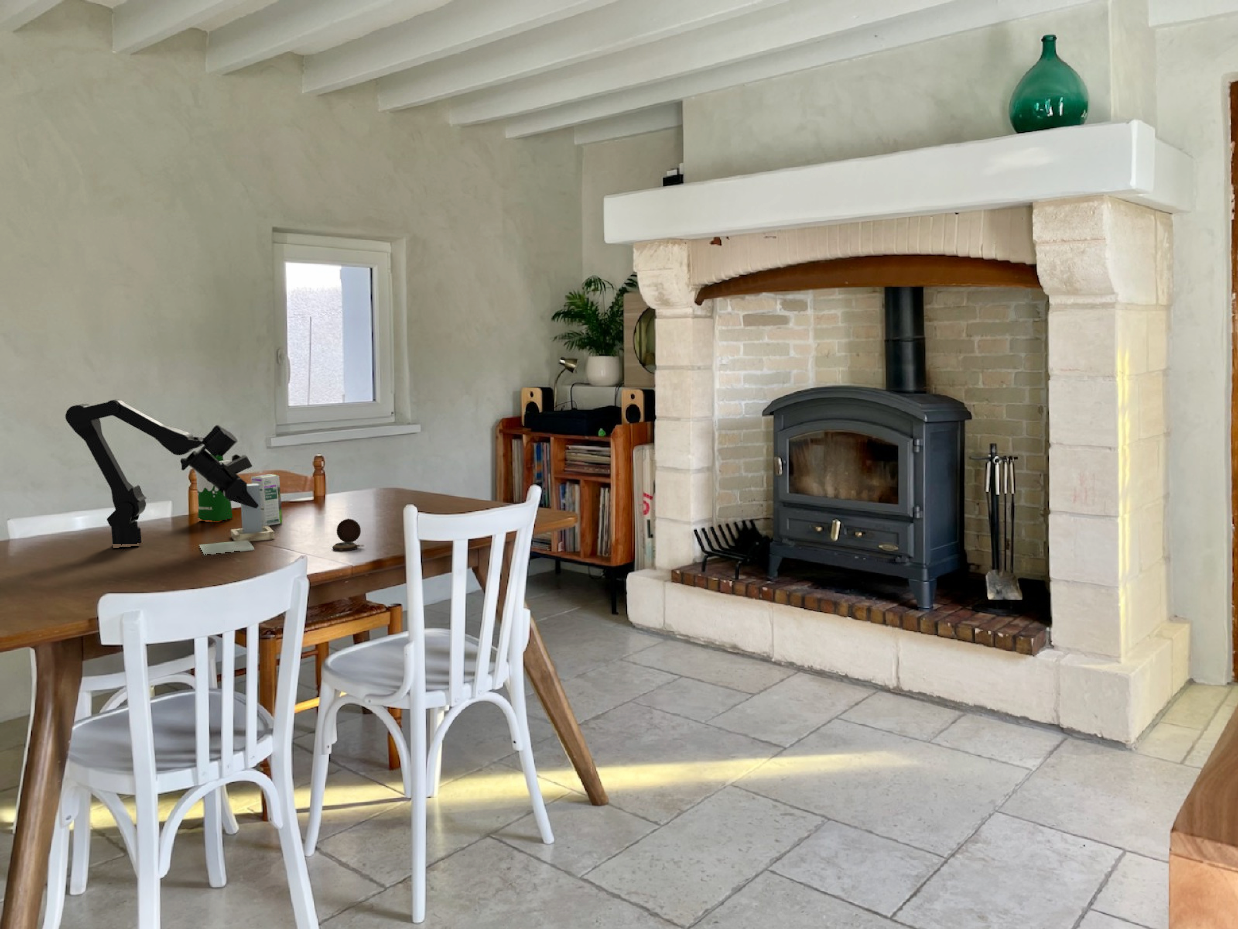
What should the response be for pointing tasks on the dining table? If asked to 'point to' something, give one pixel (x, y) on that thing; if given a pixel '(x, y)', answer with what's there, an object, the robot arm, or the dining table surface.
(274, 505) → the syrup box
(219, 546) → the plate
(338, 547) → the compass
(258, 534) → the holder
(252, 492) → the link block
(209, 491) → the milk carton
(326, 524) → the dining table surface
